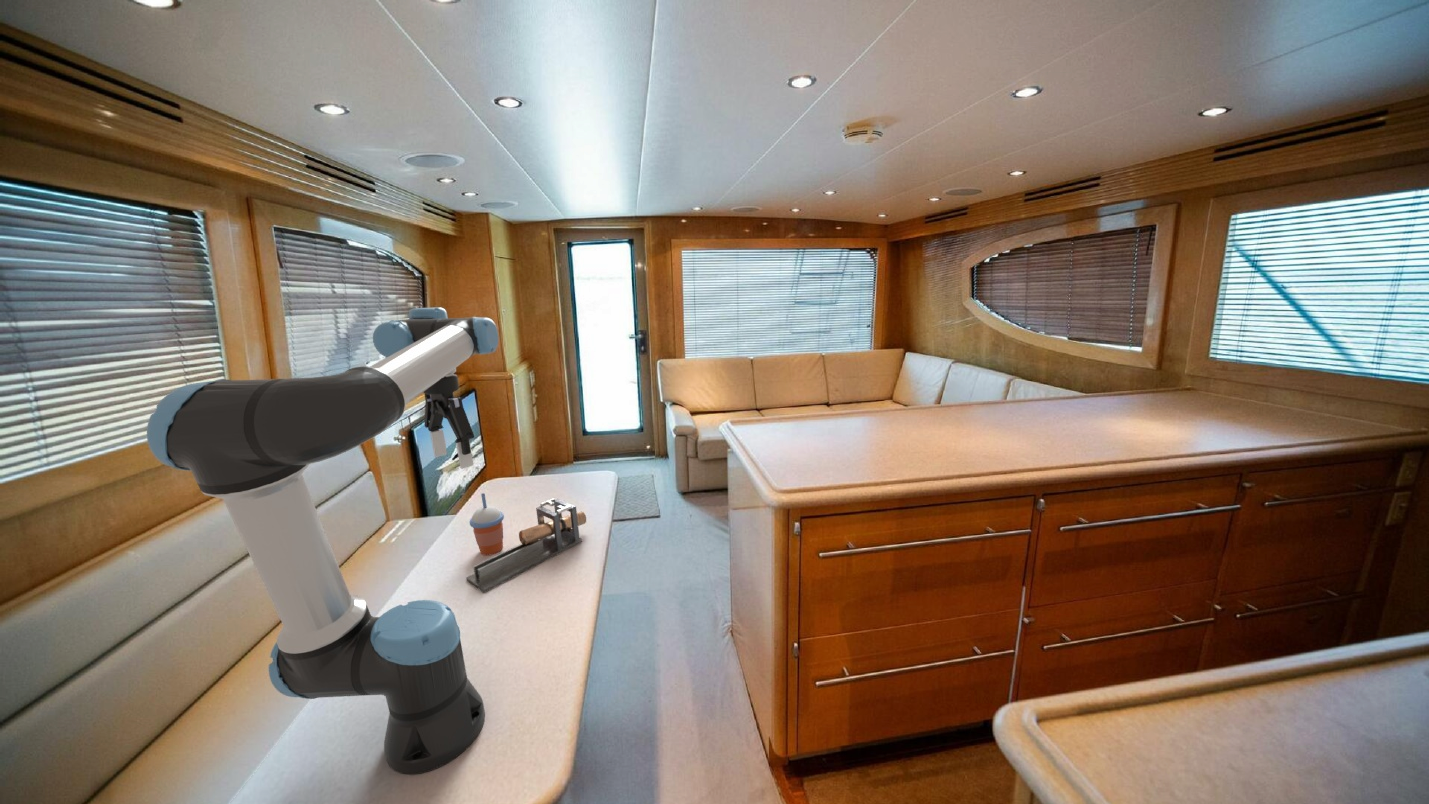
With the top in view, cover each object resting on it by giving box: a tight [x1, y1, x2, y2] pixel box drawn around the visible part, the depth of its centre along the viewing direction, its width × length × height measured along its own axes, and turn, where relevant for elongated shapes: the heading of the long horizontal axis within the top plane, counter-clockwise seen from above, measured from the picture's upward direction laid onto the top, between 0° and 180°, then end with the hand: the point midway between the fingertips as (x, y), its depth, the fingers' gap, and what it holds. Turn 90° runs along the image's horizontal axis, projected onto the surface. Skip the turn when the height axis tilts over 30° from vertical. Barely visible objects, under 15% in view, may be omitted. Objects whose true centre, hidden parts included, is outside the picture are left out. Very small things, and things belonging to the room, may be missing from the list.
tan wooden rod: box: [518, 511, 587, 545], centre depth 143 cm, size 20×4×4 cm, turn 142°
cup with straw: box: [469, 492, 505, 556], centre depth 141 cm, size 9×9×18 cm
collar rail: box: [465, 497, 583, 594], centre depth 136 cm, size 30×9×13 cm, turn 142°
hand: (453, 461), depth 118 cm, fingers open, 13 cm apart
